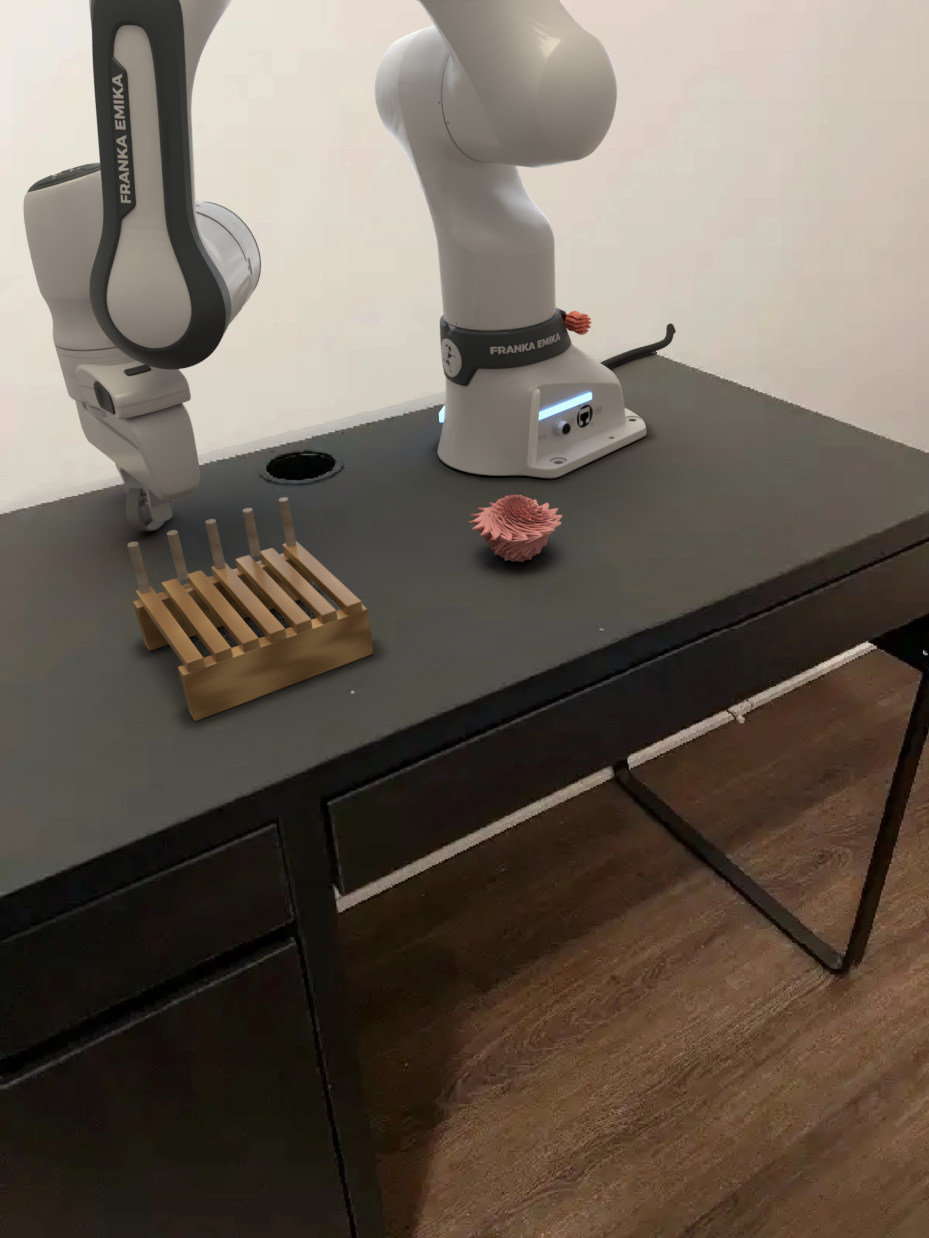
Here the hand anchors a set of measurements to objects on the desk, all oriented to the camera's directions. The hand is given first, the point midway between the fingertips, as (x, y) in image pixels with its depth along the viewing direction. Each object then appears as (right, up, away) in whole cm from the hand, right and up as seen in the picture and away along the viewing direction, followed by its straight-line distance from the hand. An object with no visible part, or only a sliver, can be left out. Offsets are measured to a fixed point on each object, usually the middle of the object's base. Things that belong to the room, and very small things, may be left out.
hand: (151, 510), depth 97 cm
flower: (+34, -5, -8) cm, 35 cm away
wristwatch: (0, -2, +1) cm, 2 cm away
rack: (+14, -13, -18) cm, 26 cm away
